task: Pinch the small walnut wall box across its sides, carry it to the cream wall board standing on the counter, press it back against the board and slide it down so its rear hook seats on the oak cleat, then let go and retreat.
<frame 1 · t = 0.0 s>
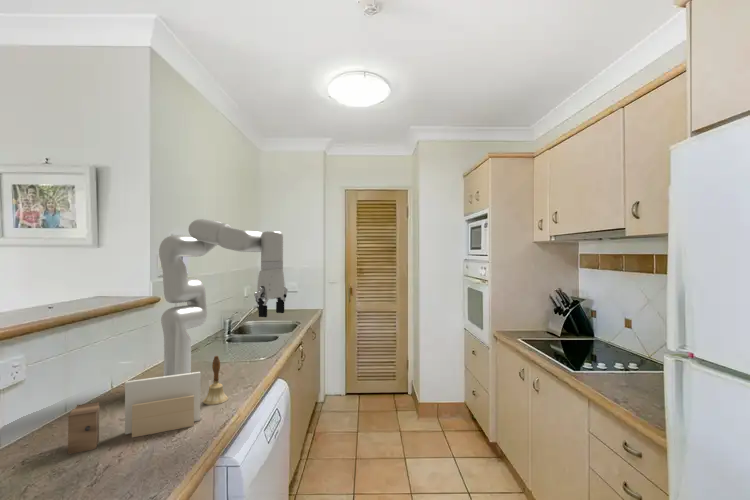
hand: (271, 314, 134), 31 cm above the counter, tool pointing down, fingers open, 9 cm apart
wall board: (164, 427, 116), on the counter
wall box: (84, 447, 104), on the counter
hand bell: (215, 401, 137), on the counter
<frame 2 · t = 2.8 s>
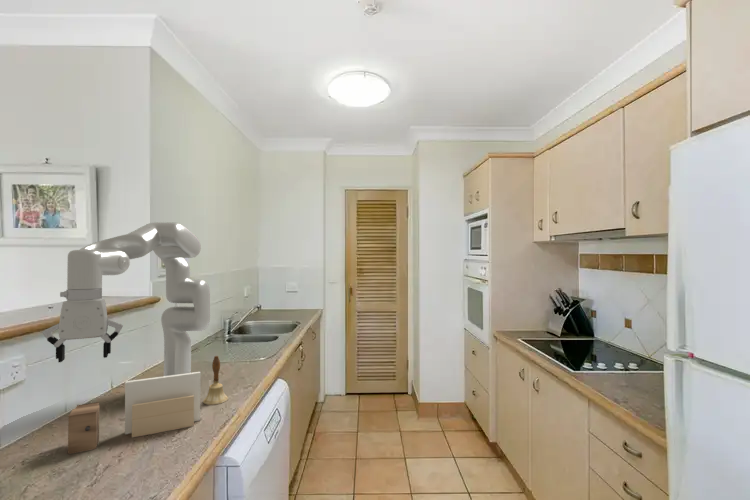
hand: (84, 358, 103), 24 cm above the counter, tool pointing down, fingers open, 9 cm apart
nothing on the counter moved.
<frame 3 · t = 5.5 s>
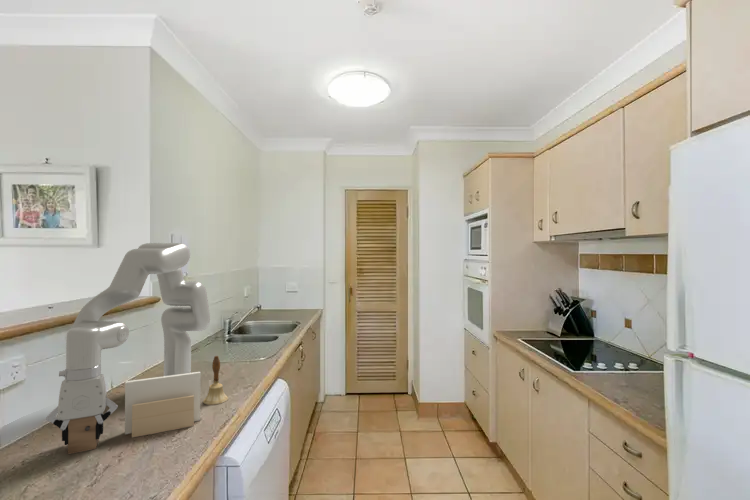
hand: (83, 439, 103), 3 cm above the counter, tool pointing down, fingers closed on wall box, 6 cm apart
wall box: (83, 447, 104), on the counter, touching gripper
everything else where it was.
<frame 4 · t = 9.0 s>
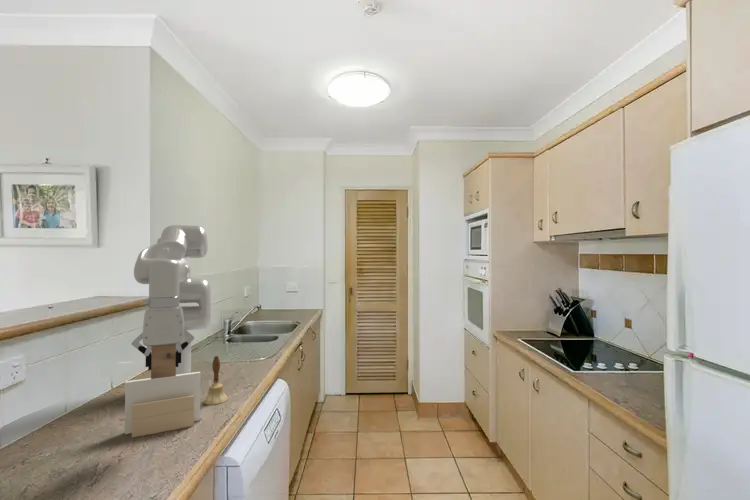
hand: (163, 366, 107), 21 cm above the counter, tool pointing down, fingers closed on wall box, 6 cm apart
wall box: (163, 375, 108), point 18 cm above the counter, touching gripper
everything else where it was.
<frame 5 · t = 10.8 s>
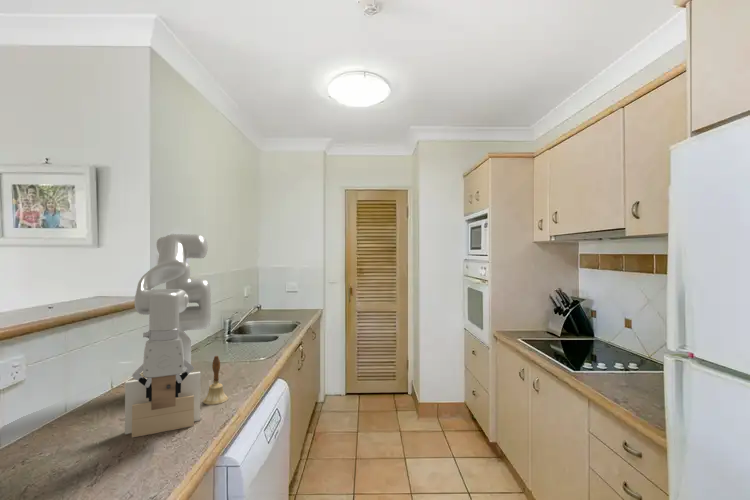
hand: (163, 397, 109), 11 cm above the counter, tool pointing down, fingers closed on wall box, 6 cm apart
wall box: (163, 405, 110), point 9 cm above the counter, touching gripper
everything else where it was.
when the fingers open (5 cm above the counter, at t = 12.5 s): wall box stays where it is, resting on wall board.
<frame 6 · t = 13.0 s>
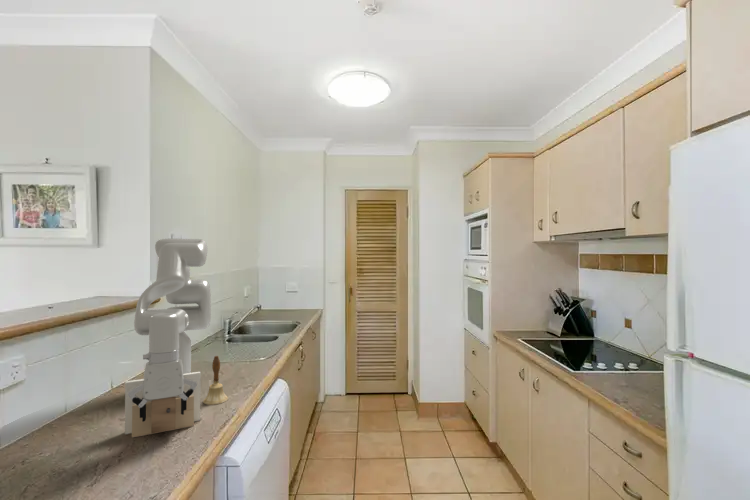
hand: (163, 416, 109), 6 cm above the counter, tool pointing down, fingers open, 9 cm apart
wall box: (163, 427, 111), point 2 cm above the counter, touching wall board
everything else where it was.
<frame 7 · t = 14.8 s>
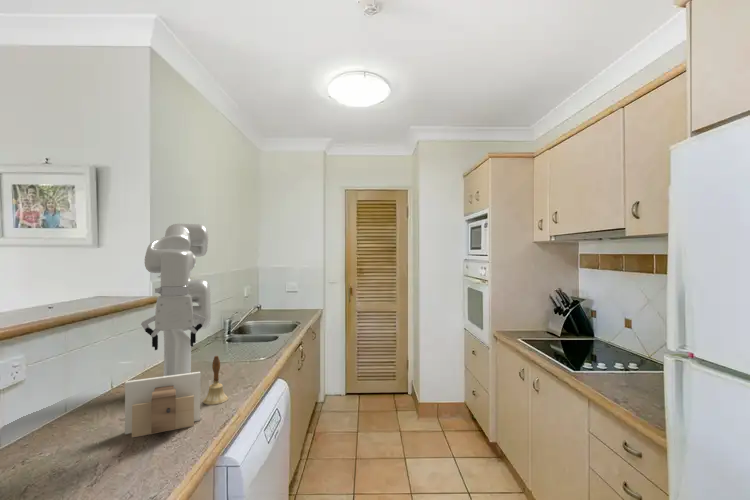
hand: (174, 347, 116), 24 cm above the counter, tool pointing down, fingers open, 9 cm apart
nothing on the counter moved.
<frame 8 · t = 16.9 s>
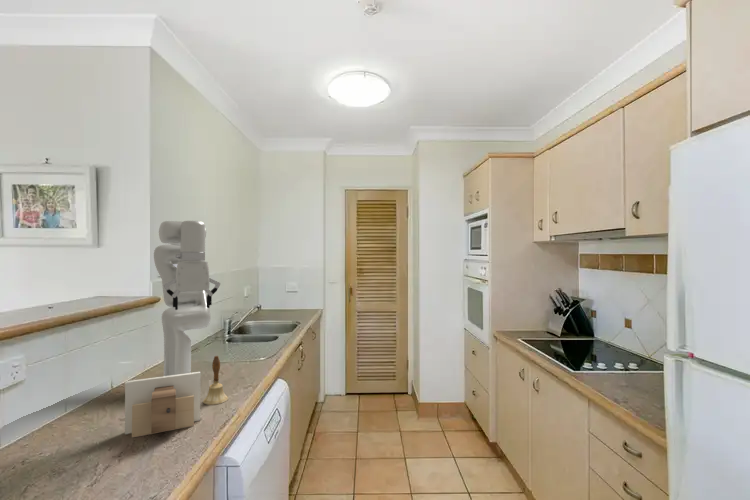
hand: (192, 308, 128), 34 cm above the counter, tool pointing down, fingers open, 9 cm apart
nothing on the counter moved.
at the end: wall box 0.5 cm from the target spot on the wall board, point 2.2 cm above the wall board's base; wall box tilted 3°; the gripper is holding nothing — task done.
